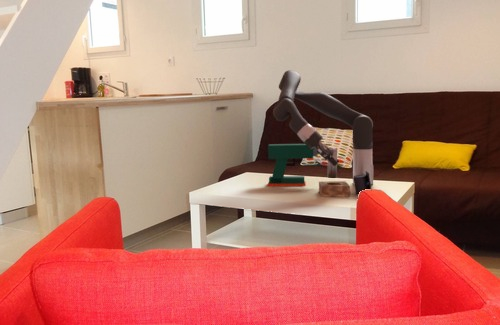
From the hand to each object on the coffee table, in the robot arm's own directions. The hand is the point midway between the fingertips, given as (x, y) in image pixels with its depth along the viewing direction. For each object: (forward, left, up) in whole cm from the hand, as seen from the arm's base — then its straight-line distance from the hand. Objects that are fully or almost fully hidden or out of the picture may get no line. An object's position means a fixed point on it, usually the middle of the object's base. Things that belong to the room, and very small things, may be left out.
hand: (336, 163), depth 203 cm
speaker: (-11, +2, -14) cm, 18 cm away
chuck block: (+1, 0, -13) cm, 13 cm away
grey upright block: (+2, -1, -6) cm, 6 cm away
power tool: (+15, -24, -14) cm, 32 cm away
